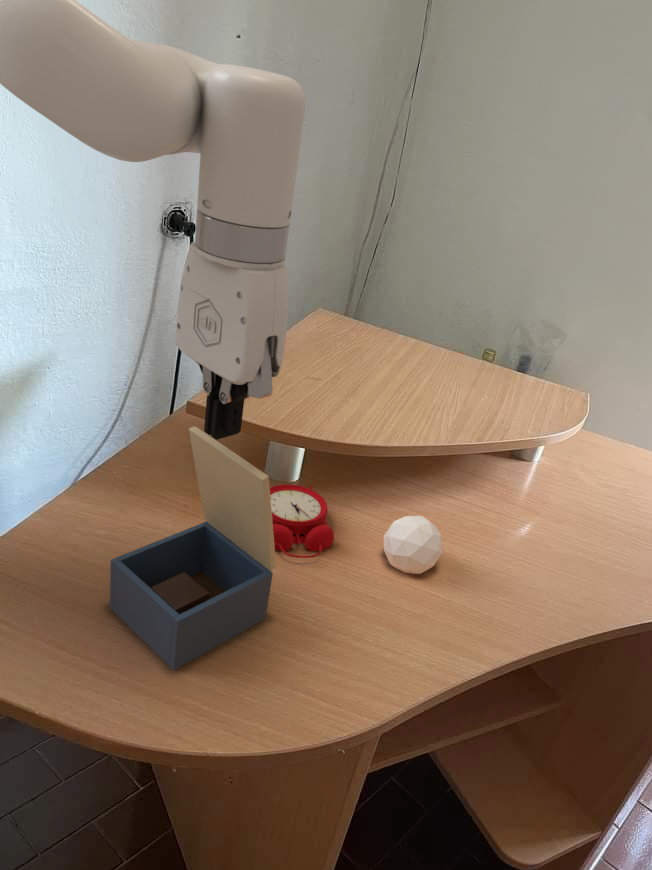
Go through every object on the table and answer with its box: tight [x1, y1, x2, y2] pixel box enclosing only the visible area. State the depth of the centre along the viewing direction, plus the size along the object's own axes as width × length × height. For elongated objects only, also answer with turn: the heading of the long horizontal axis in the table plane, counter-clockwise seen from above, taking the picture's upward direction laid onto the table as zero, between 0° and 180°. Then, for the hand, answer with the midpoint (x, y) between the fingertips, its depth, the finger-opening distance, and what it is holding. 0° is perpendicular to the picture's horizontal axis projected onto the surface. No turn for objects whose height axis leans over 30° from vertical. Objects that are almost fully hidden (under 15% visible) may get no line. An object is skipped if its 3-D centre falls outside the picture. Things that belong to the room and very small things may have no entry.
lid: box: [188, 425, 277, 572], centre depth 73 cm, size 13×11×1 cm
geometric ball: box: [383, 515, 443, 575], centre depth 92 cm, size 8×8×8 cm
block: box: [151, 572, 210, 615], centre depth 75 cm, size 4×4×4 cm
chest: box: [109, 520, 274, 671], centre depth 75 cm, size 12×11×8 cm
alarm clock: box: [270, 484, 335, 559], centre depth 94 cm, size 10×6×15 cm
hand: (222, 432), depth 67 cm, fingers closed
